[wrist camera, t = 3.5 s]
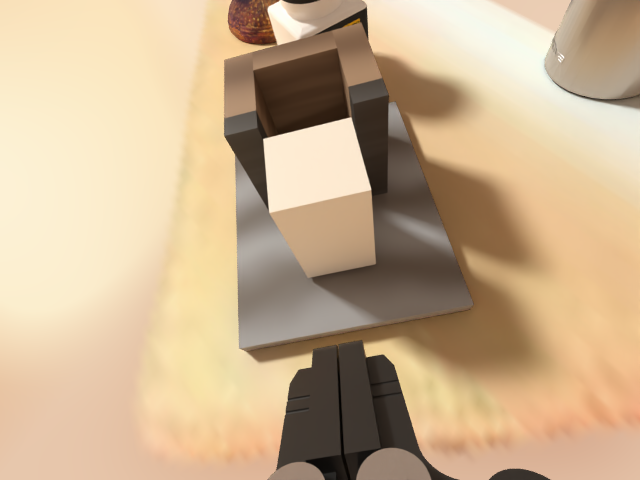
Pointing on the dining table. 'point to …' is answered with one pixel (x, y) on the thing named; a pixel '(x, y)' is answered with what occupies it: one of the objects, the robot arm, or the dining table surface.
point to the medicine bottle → (314, 17)
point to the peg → (321, 197)
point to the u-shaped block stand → (386, 187)
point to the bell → (251, 21)
